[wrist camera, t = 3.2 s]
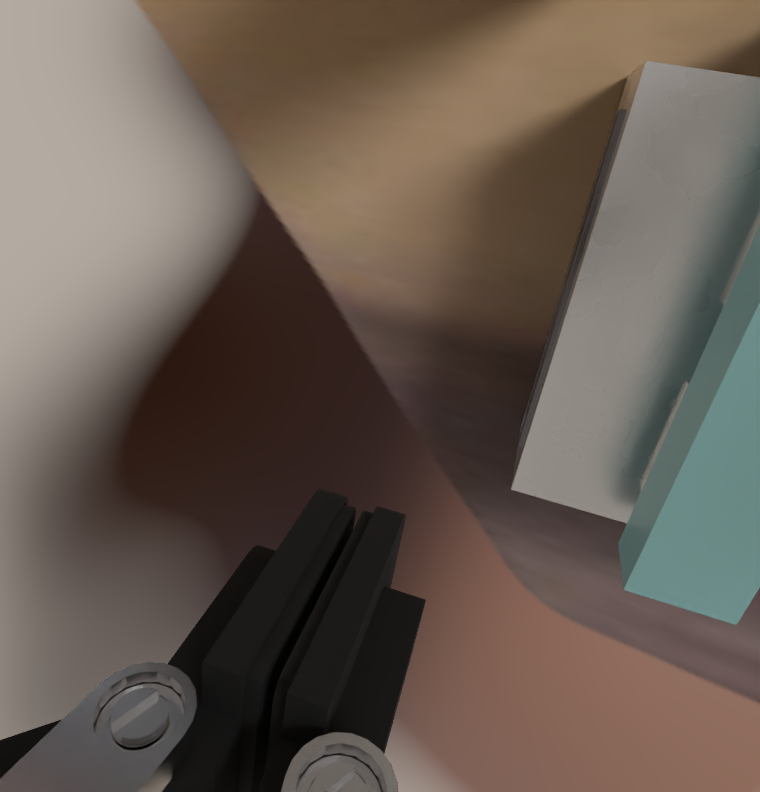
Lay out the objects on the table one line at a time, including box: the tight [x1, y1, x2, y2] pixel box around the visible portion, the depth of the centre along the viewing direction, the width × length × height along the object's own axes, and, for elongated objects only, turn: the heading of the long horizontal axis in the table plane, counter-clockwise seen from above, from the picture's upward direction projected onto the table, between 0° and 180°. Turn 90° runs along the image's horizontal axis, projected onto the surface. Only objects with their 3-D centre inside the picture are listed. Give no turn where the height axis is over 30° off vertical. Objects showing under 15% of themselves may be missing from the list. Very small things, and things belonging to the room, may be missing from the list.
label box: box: [511, 61, 760, 523], centre depth 22 cm, size 16×12×6 cm
